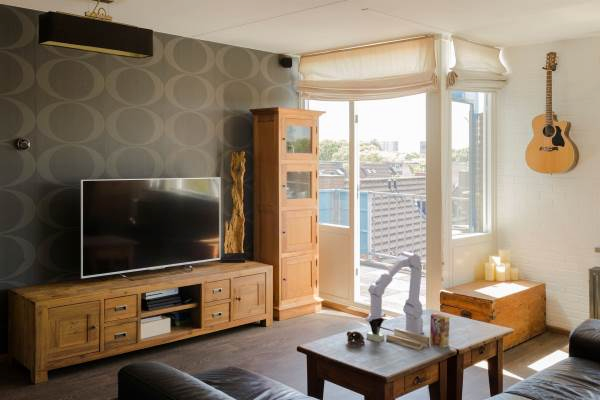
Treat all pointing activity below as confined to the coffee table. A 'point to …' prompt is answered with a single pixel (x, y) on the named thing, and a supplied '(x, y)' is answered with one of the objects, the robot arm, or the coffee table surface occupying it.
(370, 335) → the slab with grey handle
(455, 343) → the coffee table surface
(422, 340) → the board
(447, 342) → the candy box
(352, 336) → the pottery mug
